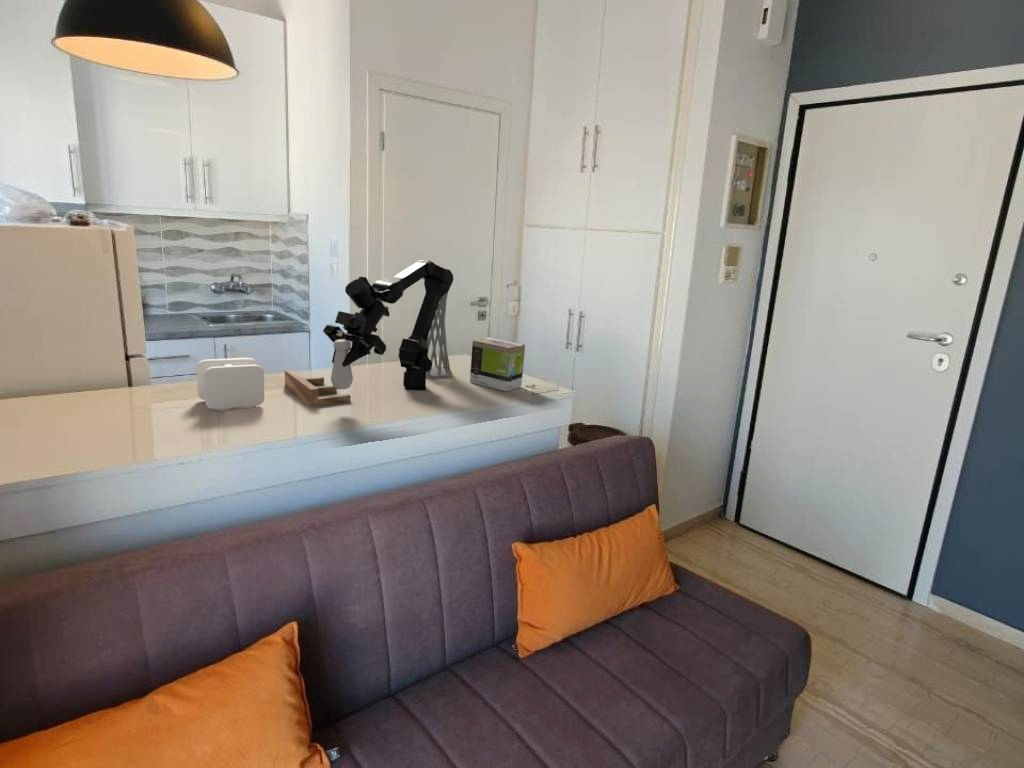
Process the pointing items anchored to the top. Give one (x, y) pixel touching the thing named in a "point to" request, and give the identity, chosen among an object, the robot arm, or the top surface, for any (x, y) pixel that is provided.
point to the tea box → (497, 363)
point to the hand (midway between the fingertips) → (338, 364)
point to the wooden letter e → (313, 390)
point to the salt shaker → (341, 366)
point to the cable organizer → (230, 383)
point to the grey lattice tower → (443, 356)
